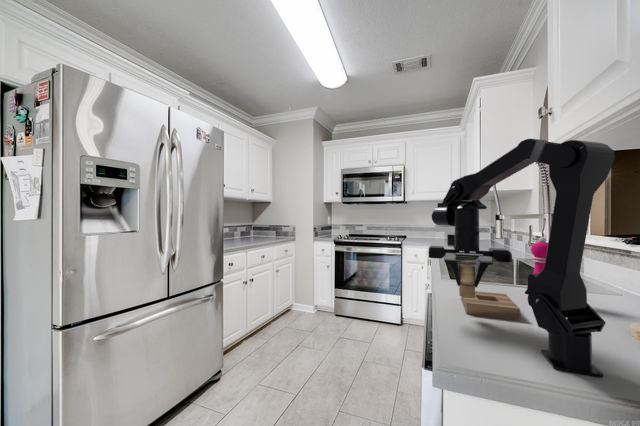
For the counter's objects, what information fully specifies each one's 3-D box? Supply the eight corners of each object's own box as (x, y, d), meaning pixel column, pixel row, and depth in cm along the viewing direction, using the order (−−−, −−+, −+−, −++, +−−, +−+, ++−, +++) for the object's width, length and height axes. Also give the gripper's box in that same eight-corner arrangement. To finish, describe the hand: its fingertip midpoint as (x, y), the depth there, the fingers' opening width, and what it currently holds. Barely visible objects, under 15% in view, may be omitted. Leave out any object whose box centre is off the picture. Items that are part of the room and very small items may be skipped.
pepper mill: (564, 304, 80) (563, 238, 80) (537, 303, 82) (536, 237, 82) (549, 297, 87) (548, 236, 87) (524, 296, 89) (523, 236, 89)
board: (519, 320, 68) (519, 308, 68) (466, 313, 72) (466, 302, 72) (505, 303, 81) (505, 293, 81) (461, 299, 85) (461, 289, 85)
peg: (476, 298, 67) (476, 267, 68) (459, 297, 69) (459, 266, 69) (474, 294, 71) (473, 264, 71) (458, 293, 72) (458, 263, 72)
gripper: (501, 226, 74) (501, 282, 74) (428, 225, 81) (428, 276, 81) (512, 228, 64) (513, 293, 63) (428, 226, 71) (428, 285, 71)
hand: (467, 286), depth 70 cm, fingers closed on peg, 4 cm apart
